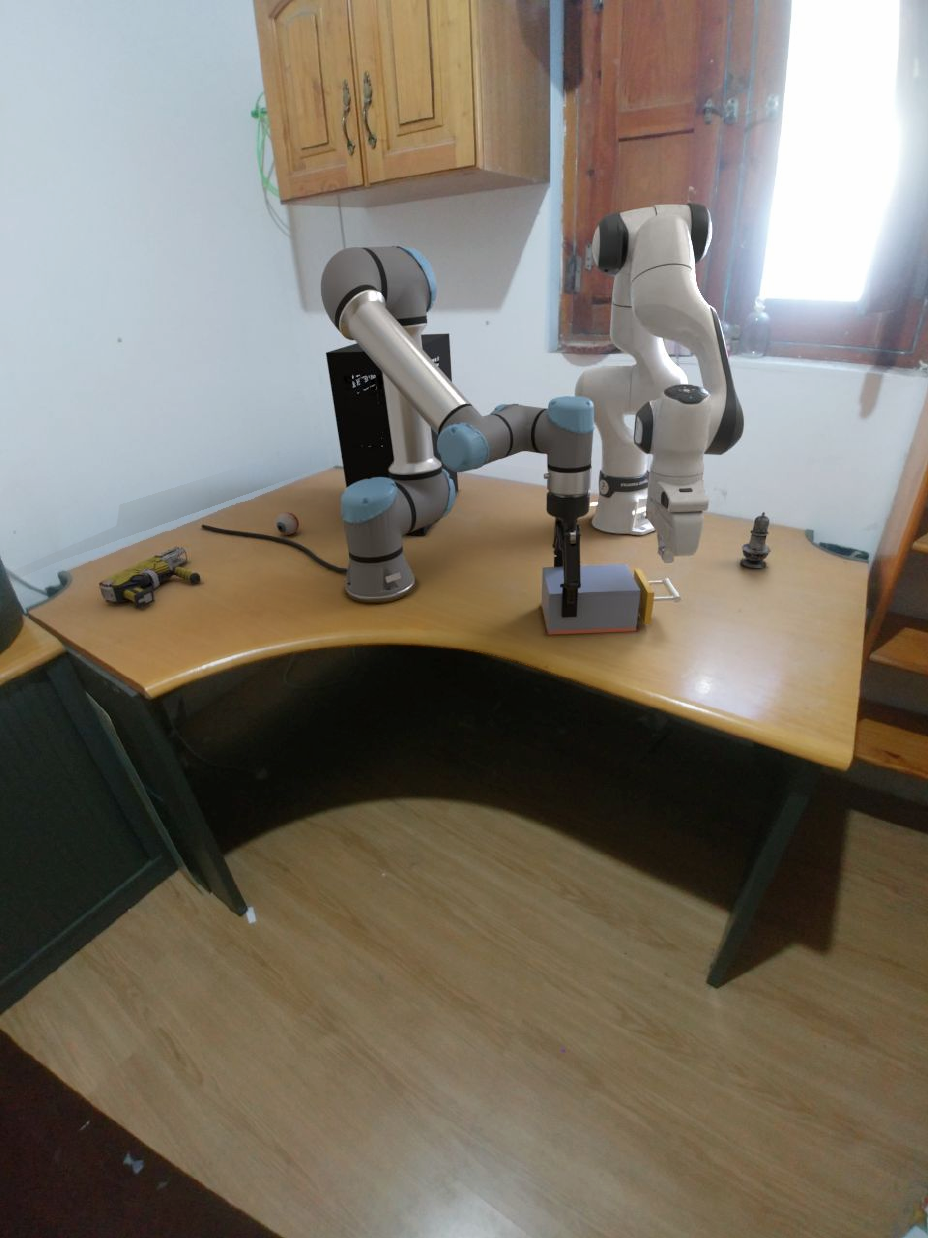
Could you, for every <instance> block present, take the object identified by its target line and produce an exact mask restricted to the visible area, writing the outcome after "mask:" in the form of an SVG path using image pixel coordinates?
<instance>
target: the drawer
mask: <svg viewBox="0 0 928 1238" xmlns="http://www.w3.org/2000/svg"><path fill="white" fill-rule="evenodd" d="M633 570H634V571H633V572H634V573H633V578H634V580H635V581H636V583H637V585H638V587H639V589H640V598H639V607H638V616H639V617H640V619H641V621H642V623H643V625H644V626H645V625H646V626H647V625H651V623H652V616H653V610H654V609H653V608H654V602H666V601H667V602H668V601H673V602H674V603H680V602H681V601H682V597H681V596H680V594H679V592H678V591H677V589H676V588H675V587H674V585H673V584H672V582H671V581H670V579H669V578H668V577H664V578H663V579H661V580H648V579H647V577H646V576H645V574H644V572H643V570H642V569H641V568H634V569H633ZM654 585H657V586H658V585H663V586H664V588H665V589H666V591H667V593H668V594H669V596H655V591H654V589H653V588H652V586H654Z"/></svg>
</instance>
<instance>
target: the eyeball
mask: <svg viewBox="0 0 928 1238" xmlns="http://www.w3.org/2000/svg"><path fill="white" fill-rule="evenodd" d="M299 525H300V522H299V519H298V517H297V516H296V515H295V514H294V513H292V512H287V511H286V512H282V513H280V514H279V515H278V516H277V517H276V520H275V527H276V529H277V530H278V531H279V532H280V533H281V534H282V535H285V536H286V535H287V536H289V535H293V534H295V533H296V532H297V531H298V529H299Z"/></svg>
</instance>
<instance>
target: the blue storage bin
mask: <svg viewBox="0 0 928 1238" xmlns="http://www.w3.org/2000/svg"><path fill="white" fill-rule="evenodd" d="M580 580H581V588H578V601H577V617H565V618H562V616H561V614H562V588H560V584H563V583H564V575H563V567H554V566H545V567H543V566H542V569H541V609H542V613H543V614H542V615H543V617H544V622H545V626H546V631H547V635H550V636H551V635H571V634H574V635H575V634H596V633H619V632H637V625H638V616H639V613H638V607H639V598H640V589H639V587H638V585H637V583H636V581H635V580H634V575H633V573H631V570H630V569H629V566H628V565H627V563H614V564H613V563H612V564H611V563H610V564H609V563H608V564H589V565H588V564H587V565H580Z"/></svg>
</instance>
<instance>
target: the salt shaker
mask: <svg viewBox="0 0 928 1238" xmlns="http://www.w3.org/2000/svg"><path fill="white" fill-rule="evenodd" d="M769 525H770V518H769V517H768V516H766V513H765V511H763V512H762V513H761V515H758V516H756V517H755V518H754V522H753V527H752V529H751V530H750V534H751V536H750V539H749V542H748V543H745V544H742V545H741V549H742V555H743V556H744V558H742V559H741V560H740V561H739V562H740V564H741V565H742V566H743V567H747V568H752V569H763V568H765V567H766V566H767V562H766V560H765V559H767V557H768V556H769V554H770V553H771V551H772V549H771V547H770V546H768V545H766V542H767V536H769V535H770V534H769V531H768V529H769ZM764 560H765V561H764Z"/></svg>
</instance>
